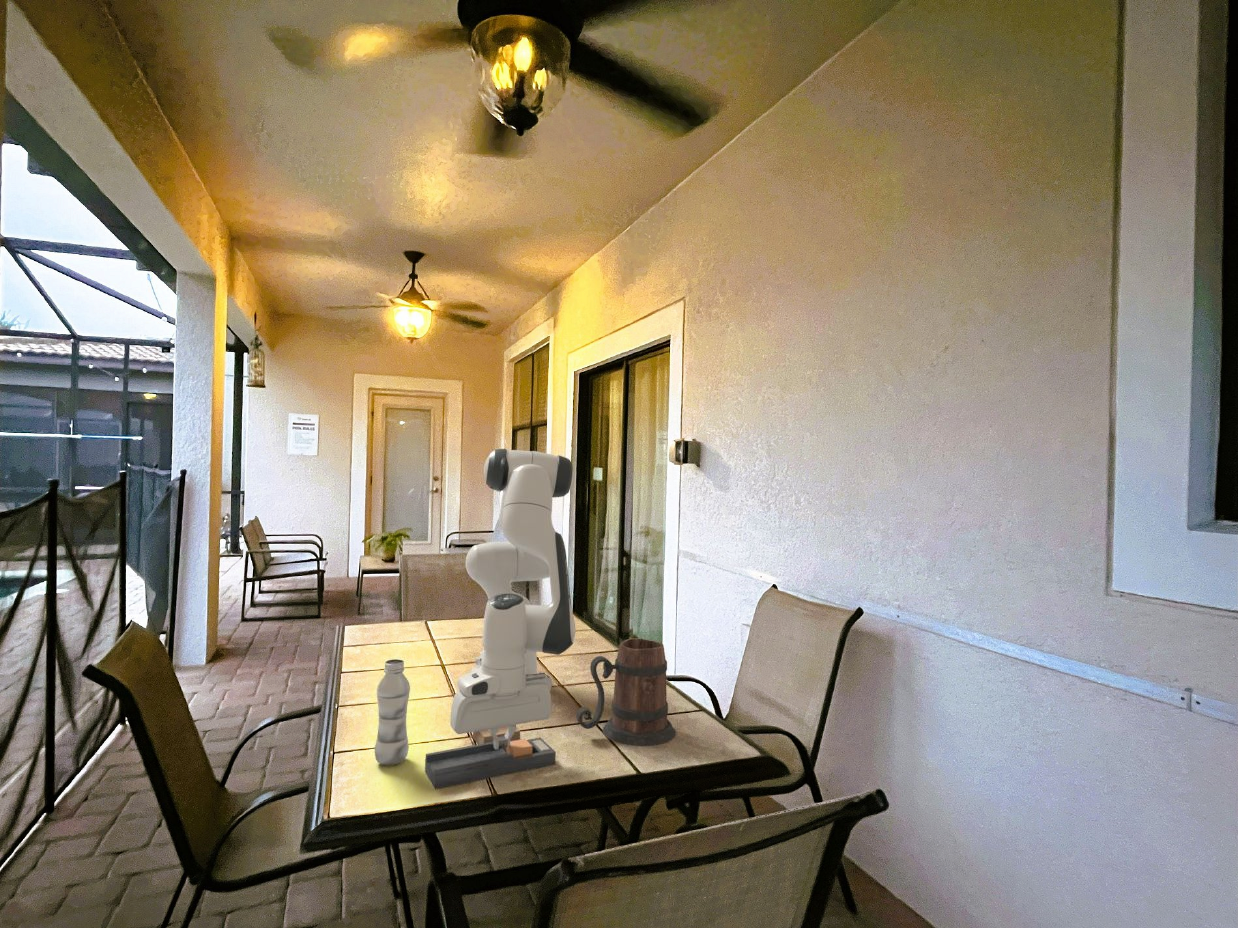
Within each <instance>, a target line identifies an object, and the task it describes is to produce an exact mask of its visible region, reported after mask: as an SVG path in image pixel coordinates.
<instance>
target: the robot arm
mask: <svg viewBox="0 0 1238 928" xmlns="http://www.w3.org/2000/svg"><path fill="white" fill-rule="evenodd" d="M483 476H484V481H485V484H486V485H487V487H488V488H489V489H492V490H494V491H496V492H499V493H501V492H502V497H501V503H500V509H499V517H498V524H499V527H500V528H501V530H502V533H503V535H504V537H505V539H506V540H507V541H489V542H482V543H478V544H475V545H473V546H472V547H470V549H469V550H468V552H467V554H466V556H465V565H464V566H465V570H466V572H467V574H468V575H469V577H470V579H472V580H473V581H474V582H476V583H477V584H478V585H479V586H480V587H481V588H482V590H483V591H484V592H485V594H486V596H487V599H488V600H487V602H486V605H485V611H484V617H483V625H482V635H481V636H482V641H481V642H482V646H483V650H481V651H480V653H479V656H476V657H475V667H473V668H471V670H470V672H468V673H465V674H463V675H461V676H459V677H458V678H457V680H456V685H457V687H458V689H459V690H457V691H456V693H455V694H454V696H453V699H452V704H451V711H450V721H449V722H450V727H451V729H452V730H453V731H454V732H455V733H456V734H457V735H463V734H468V733H469V734H470V733H473V732H475V731H481V730H487V729H488V731H489V732H490V734H491V736H492V737H493V746H494V748H495V750H496V749H501V748H507V747H510V739H511V738H512V736H513V734H514V732H515V731H516V727H517V725H521V724H527V723H533V722H540V721H544V720H545V721H546V720H549V718H550V717H551V715H552V714H553V713H552V712H553V709H552V708H553V706H552V695H551V690H552V684H553V683H552V680H553V679H552V678H551V676H550V675H549V674H546V672H538V660H537V658H538V657H537V653H539V652H540V653H543V654H549V655H557V656H559V655H561V654H563V653H564V652H566V651H567V650H569V648H570V647H572V646H573V645H574V641H575V637H576V621H575V617H574V614H573V613H574V612H573V608H572V601H571V600H572V599H571V590H570V589H571V588H570V581H569V580H570V578H569V570H568V560H567V559H568V557H567V551H566V545H565V542H564V539H563V535H562V534H560V533H559V532H558V531H556V530H555V528H554V525H553V521H552V514H553V513H552V512H553V498H562V497H563V498H564V497H565V496H566V495H568V494H569V493H570V490H571V488H572V486H573V484H574V481H575V469H574V466H573V463H572V461H571V459H569V458H567V457H565V456H562V455H554V454H550V453H546V452H542V451H535V450H532V451H531V450H521V449H507V448H497V449H493V450H492V451H491V452H490V453H489V455H488V456H487V458H486V460H485V462H484V466H483ZM548 578H549V581H550V597H551V602H550V603H549V604H547V605H541V604H531V601H530V600H529V599H528V598H527V597H526V596H524V595H522V594H520V593H517V592H515V591H514V590H513V589H512V583H514V582H534V581H536V582H537V581H540V580H544V579H548ZM504 726H506V727H507V728H508V729H507V731H506V733H505V735H504V736H502V737H497V735H496V733H498V728H499V727H504Z"/></svg>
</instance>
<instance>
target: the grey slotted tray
mask: <svg viewBox="0 0 1238 928" xmlns="http://www.w3.org/2000/svg"><path fill="white" fill-rule="evenodd" d="M526 740H527V741H528V742H529V743H530V744H531V745H532V754H529V755H524V756H519V757H513V754H512V753H509V754H507V753H506V748H501V749H496V750H495V748H494V746H493V742H489V743H483V744H473V745H467V746H462V747H457V748H450V749H447V750H441V751H434V752H428V753H426V754H425V760H424V772H425V774H426V776H427V778H428V780H429V782H430V783H431V785H432V787H433V789H434V790H439V789H444V788H449V787H454V786H458V785H463V784H467V783H473V782H478V781H483V780H487V779H491V778H497V777H501V776H507V775H511V774H517V773H521V772H525V771H530V770H535V769H540V768H545V767H549V766H554V765H556V753H557V752H556V750H554V749H553V748H552V747H551V746H550V745H549V744H548V743H547V742H546V741H545V740H544V739H542V738H541V737H535V738H529V739H526Z"/></svg>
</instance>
